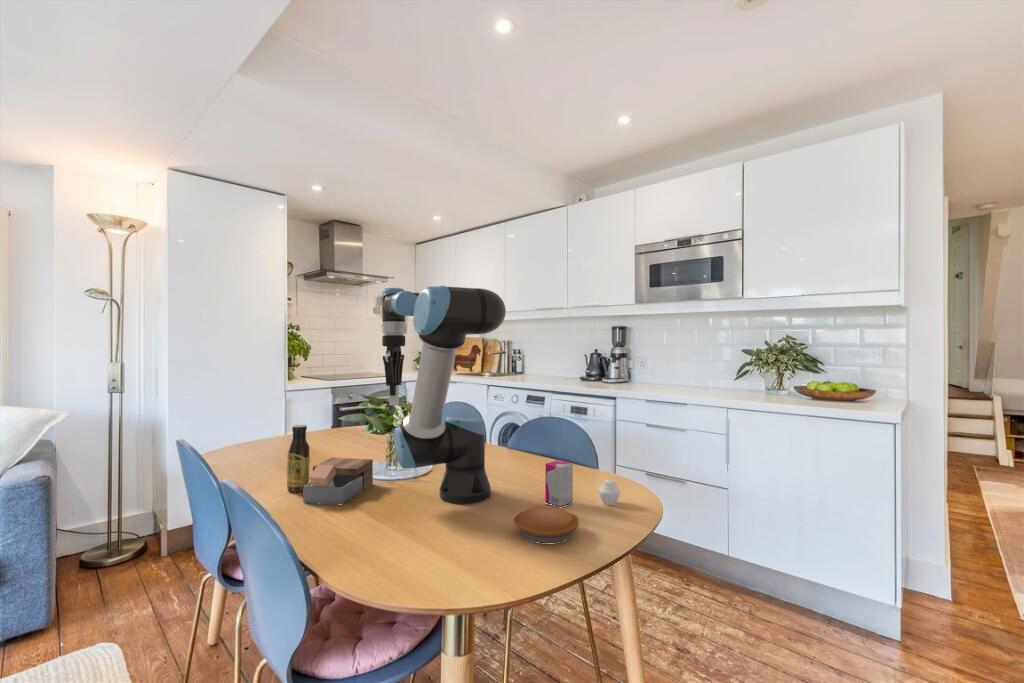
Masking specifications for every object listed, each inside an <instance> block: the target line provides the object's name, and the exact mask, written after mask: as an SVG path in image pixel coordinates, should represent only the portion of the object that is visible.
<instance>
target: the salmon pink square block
mask: <svg viewBox="0 0 1024 683" xmlns="http://www.w3.org/2000/svg"><path fill="white" fill-rule="evenodd" d="M316 465H317V466H316ZM316 465H315V466H316V468H315V469H314V471H313V470H312V472H311V473H310V474H309V482H311V483H312V485H323V486H329V484H330V482H331V481H332V479H333V478H334V476H335V474H336V470H335V467H334V465H320V463H318V464H316Z"/></svg>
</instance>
